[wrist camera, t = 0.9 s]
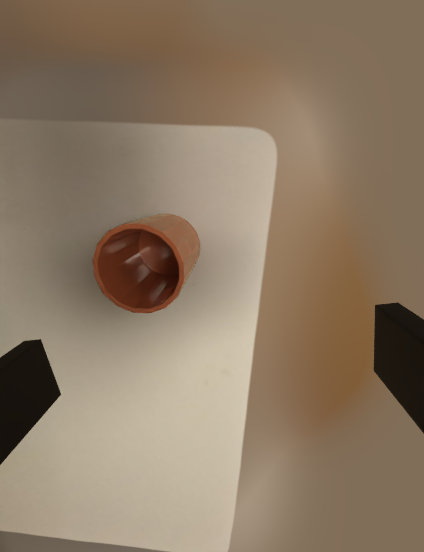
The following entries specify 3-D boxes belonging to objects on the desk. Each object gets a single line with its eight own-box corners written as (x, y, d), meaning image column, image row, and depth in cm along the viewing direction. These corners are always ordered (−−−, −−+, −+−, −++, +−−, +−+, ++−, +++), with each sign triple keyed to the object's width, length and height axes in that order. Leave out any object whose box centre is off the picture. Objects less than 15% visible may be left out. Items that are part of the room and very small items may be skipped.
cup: (149, 203, 29) (107, 207, 20) (209, 229, 29) (198, 247, 20) (129, 261, 31) (83, 291, 22) (186, 286, 32) (165, 326, 22)
